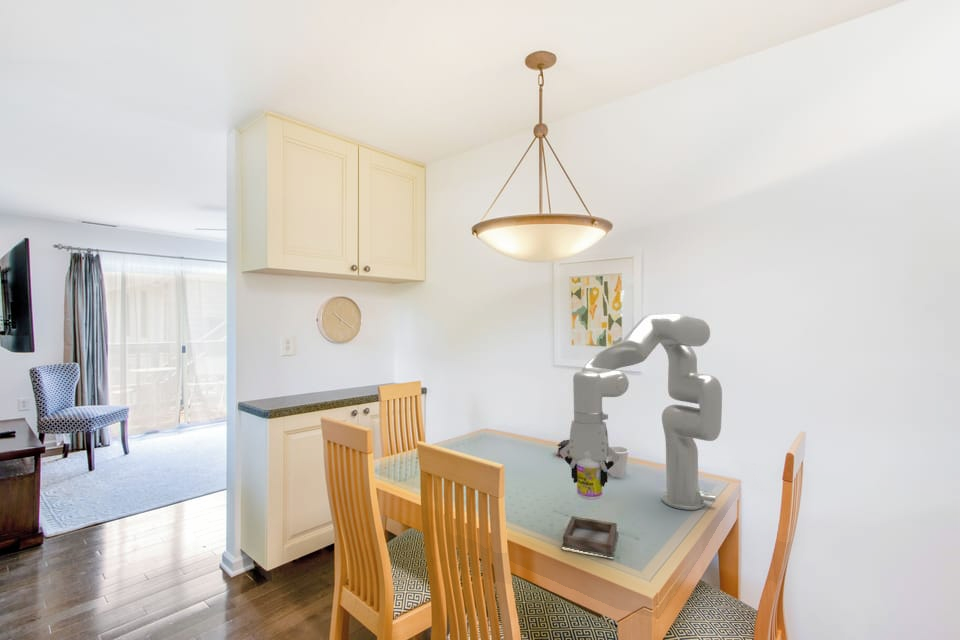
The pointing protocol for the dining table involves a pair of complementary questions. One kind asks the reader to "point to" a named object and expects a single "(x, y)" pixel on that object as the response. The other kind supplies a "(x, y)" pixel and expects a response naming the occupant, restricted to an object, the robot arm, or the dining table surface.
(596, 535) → the shallow square brown tray
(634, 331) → the robot arm
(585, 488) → the supplement bottle
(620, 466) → the dixie cup
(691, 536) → the dining table surface
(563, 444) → the canned food
